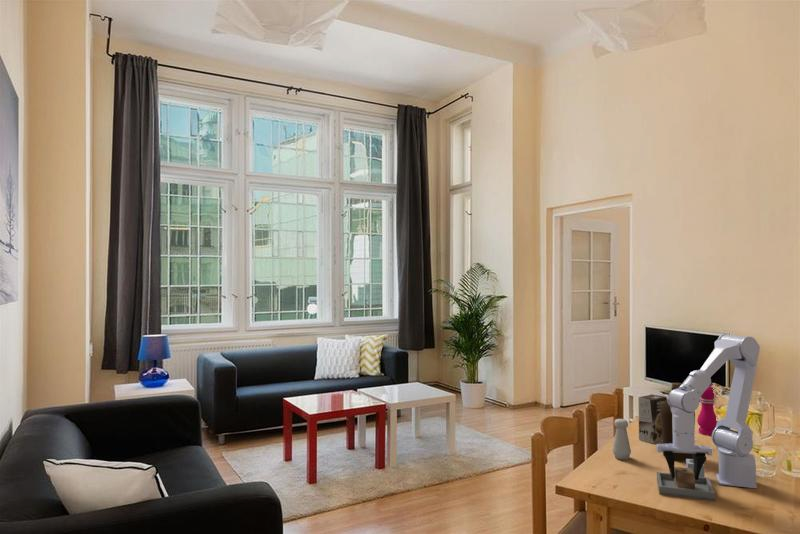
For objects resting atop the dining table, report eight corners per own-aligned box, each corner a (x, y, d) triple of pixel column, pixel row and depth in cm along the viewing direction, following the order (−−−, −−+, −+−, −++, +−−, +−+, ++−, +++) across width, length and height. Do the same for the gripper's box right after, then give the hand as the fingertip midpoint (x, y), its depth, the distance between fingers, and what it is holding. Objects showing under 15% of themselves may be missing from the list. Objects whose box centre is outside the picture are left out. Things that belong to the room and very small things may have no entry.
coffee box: (654, 444, 204) (653, 400, 204) (638, 439, 209) (637, 396, 210) (668, 439, 209) (667, 396, 209) (652, 435, 214) (651, 393, 215)
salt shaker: (632, 461, 187) (631, 422, 187) (614, 460, 188) (613, 421, 188) (628, 455, 192) (628, 417, 192) (611, 454, 194) (610, 417, 194)
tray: (708, 485, 165) (708, 477, 165) (715, 500, 154) (714, 492, 154) (656, 479, 171) (656, 471, 171) (659, 494, 159) (659, 486, 160)
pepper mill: (694, 430, 220) (693, 379, 220) (713, 430, 219) (713, 379, 219) (701, 435, 213) (700, 383, 213) (721, 436, 212) (721, 383, 212)
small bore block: (690, 485, 164) (690, 467, 164) (694, 491, 160) (694, 473, 160) (674, 483, 165) (673, 466, 165) (677, 489, 161) (677, 472, 161)
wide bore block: (702, 476, 172) (702, 460, 172) (704, 481, 168) (704, 465, 168) (686, 474, 174) (686, 458, 174) (687, 479, 170) (687, 463, 170)
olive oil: (663, 460, 187) (661, 385, 187) (659, 450, 197) (658, 379, 197) (698, 463, 183) (697, 387, 183) (693, 453, 193) (691, 381, 193)
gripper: (706, 428, 165) (707, 474, 165) (653, 426, 168) (654, 471, 168) (714, 435, 158) (715, 483, 158) (658, 432, 161) (659, 479, 161)
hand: (684, 477), depth 162 cm, fingers open, 6 cm apart
